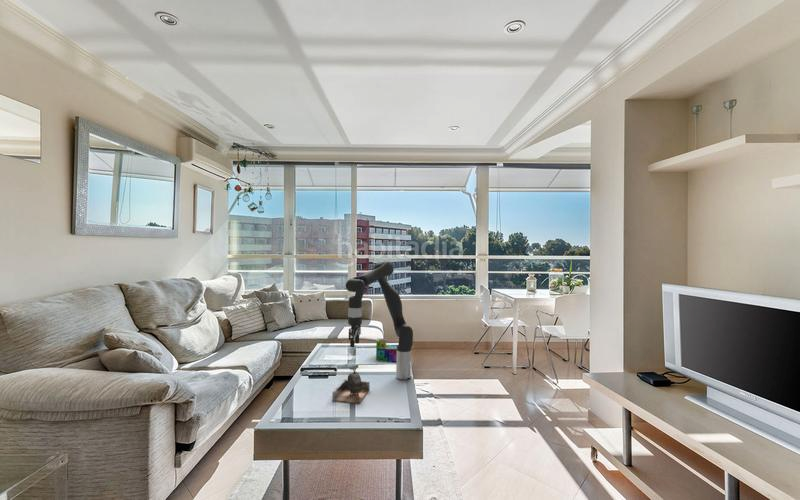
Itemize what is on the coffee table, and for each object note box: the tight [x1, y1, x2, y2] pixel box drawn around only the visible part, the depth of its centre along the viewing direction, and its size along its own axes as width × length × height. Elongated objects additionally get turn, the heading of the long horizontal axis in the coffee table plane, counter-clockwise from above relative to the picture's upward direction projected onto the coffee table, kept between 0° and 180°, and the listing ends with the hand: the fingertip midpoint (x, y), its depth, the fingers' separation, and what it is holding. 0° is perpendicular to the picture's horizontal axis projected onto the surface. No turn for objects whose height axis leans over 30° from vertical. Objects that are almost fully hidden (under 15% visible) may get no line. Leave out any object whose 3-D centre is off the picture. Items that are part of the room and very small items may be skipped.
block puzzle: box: [375, 337, 398, 364], centre depth 279 cm, size 25×17×14 cm
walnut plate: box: [331, 388, 370, 405], centre depth 210 cm, size 15×19×1 cm
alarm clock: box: [347, 364, 362, 397], centre depth 209 cm, size 11×5×16 cm, turn 28°
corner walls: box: [331, 379, 370, 400], centre depth 210 cm, size 15×19×4 cm
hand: (354, 345), depth 209 cm, fingers open, 8 cm apart
